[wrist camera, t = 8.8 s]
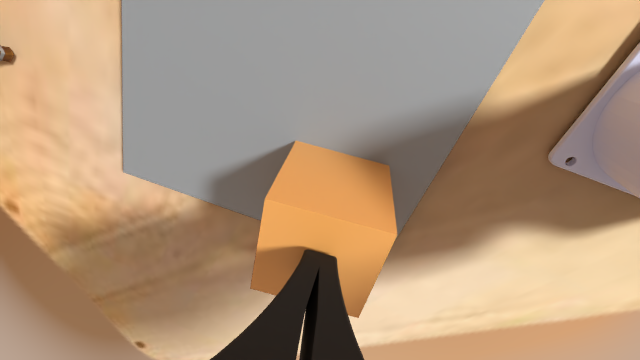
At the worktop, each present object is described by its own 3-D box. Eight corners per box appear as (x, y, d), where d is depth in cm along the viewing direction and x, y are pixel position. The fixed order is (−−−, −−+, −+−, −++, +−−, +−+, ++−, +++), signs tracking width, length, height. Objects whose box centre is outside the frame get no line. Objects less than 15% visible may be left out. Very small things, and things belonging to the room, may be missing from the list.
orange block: (389, 165, 17) (397, 234, 12) (361, 236, 20) (358, 317, 15) (296, 140, 17) (264, 198, 12) (280, 215, 20) (250, 288, 15)
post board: (562, -49, 13) (677, -79, 8) (380, 252, 22) (383, 322, 17) (137, -223, 12) (-16, -372, 7) (133, 165, 21) (64, 212, 16)
